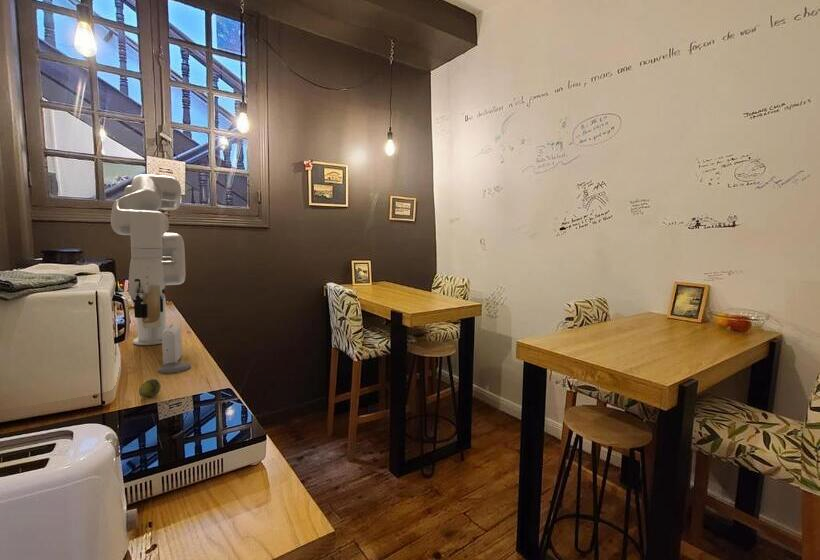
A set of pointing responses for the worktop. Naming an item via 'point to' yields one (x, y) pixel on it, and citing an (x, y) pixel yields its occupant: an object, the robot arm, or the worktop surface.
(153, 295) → the skincare box
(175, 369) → the coaster
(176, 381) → the worktop surface
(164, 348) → the photo printer
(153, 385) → the lime
